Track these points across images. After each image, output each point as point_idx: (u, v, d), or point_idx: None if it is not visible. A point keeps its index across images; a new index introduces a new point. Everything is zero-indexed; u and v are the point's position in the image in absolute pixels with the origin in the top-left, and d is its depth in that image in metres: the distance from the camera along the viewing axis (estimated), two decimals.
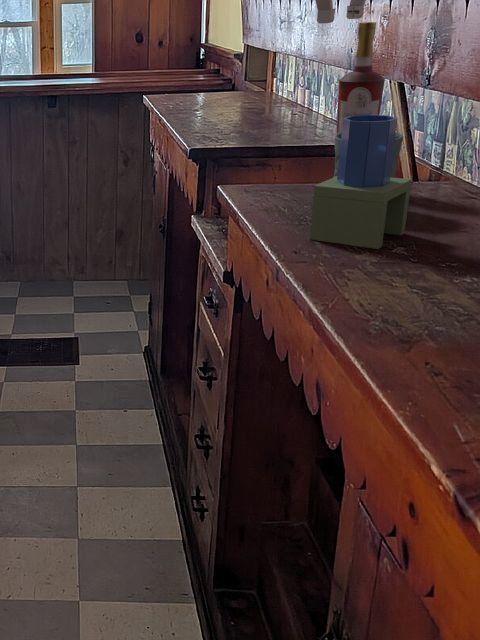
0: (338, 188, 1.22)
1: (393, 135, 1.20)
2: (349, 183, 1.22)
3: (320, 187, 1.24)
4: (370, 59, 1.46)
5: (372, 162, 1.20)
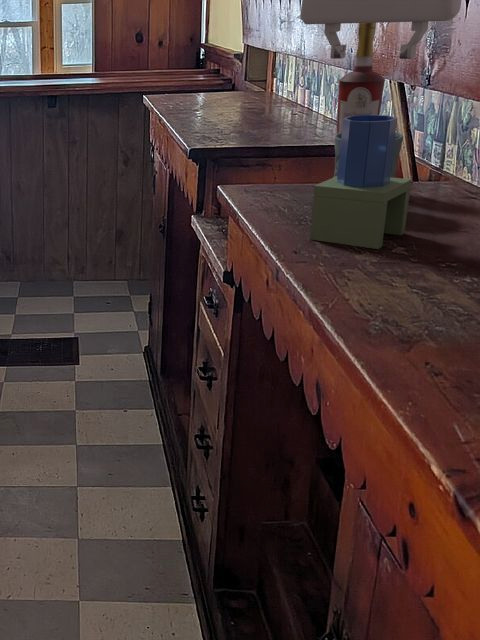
0: (338, 188, 1.22)
1: (393, 135, 1.20)
2: (349, 183, 1.22)
3: (320, 187, 1.24)
4: (370, 59, 1.46)
5: (372, 162, 1.20)
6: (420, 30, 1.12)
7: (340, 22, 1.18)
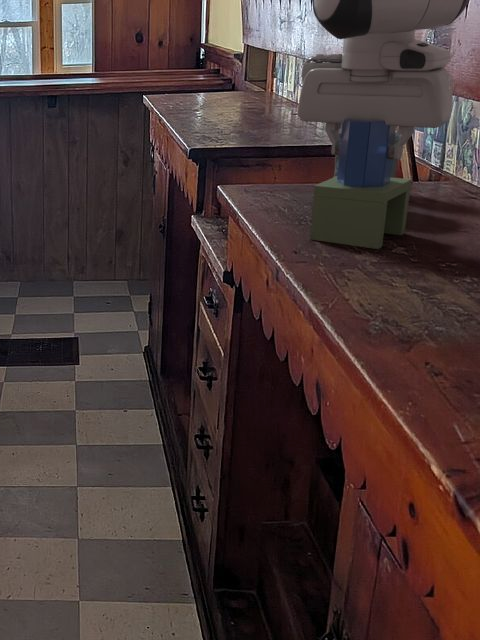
0: (338, 188, 1.22)
1: (393, 135, 1.20)
2: (349, 183, 1.22)
3: (320, 187, 1.24)
4: None
5: (372, 162, 1.20)
6: (406, 134, 1.17)
7: (336, 122, 1.23)
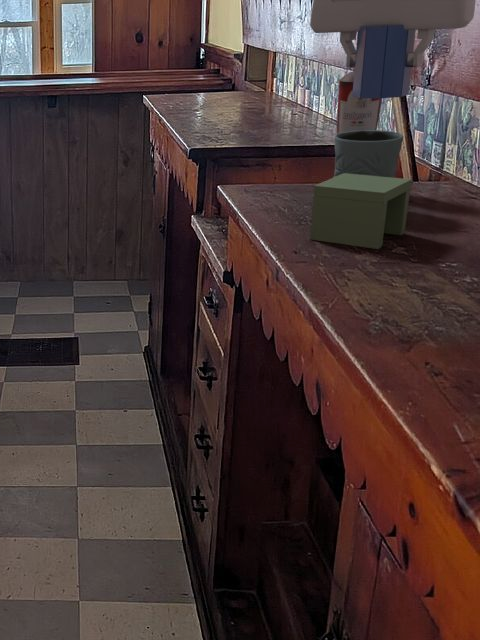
0: (338, 188, 1.22)
1: (412, 41, 1.13)
2: (365, 95, 1.16)
3: (320, 187, 1.24)
4: None
5: (390, 70, 1.13)
6: (426, 38, 1.10)
7: (351, 30, 1.16)
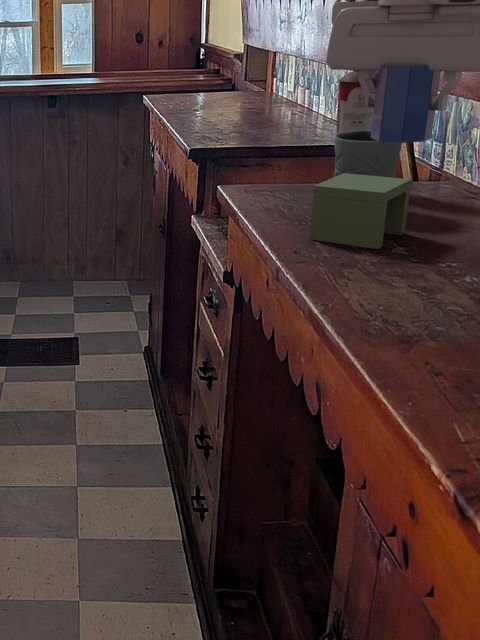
0: (338, 188, 1.22)
1: (437, 82, 1.05)
2: (385, 138, 1.08)
3: (320, 187, 1.24)
4: None
5: (413, 113, 1.05)
6: (453, 80, 1.02)
7: (370, 69, 1.08)
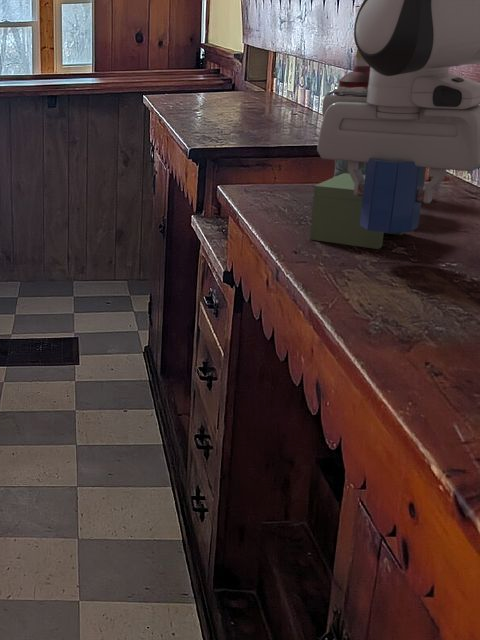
0: (338, 188, 1.22)
1: (423, 176, 1.09)
2: (374, 228, 1.12)
3: (320, 187, 1.24)
4: None
5: (399, 206, 1.09)
6: (438, 177, 1.07)
7: (359, 161, 1.12)
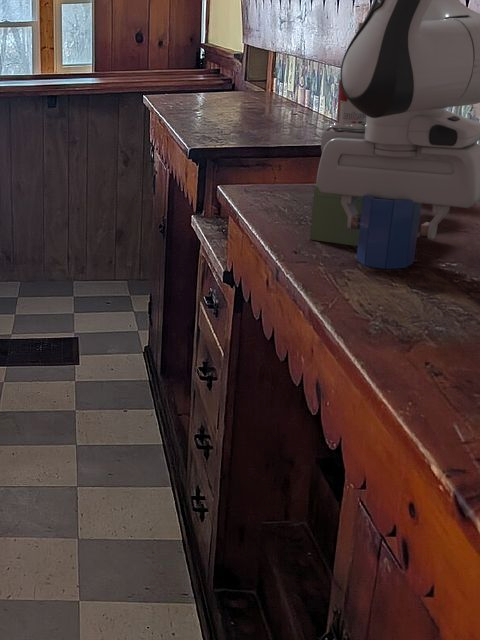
0: None
1: (418, 214, 1.11)
2: (370, 264, 1.14)
3: None
4: None
5: (395, 243, 1.11)
6: (441, 213, 1.08)
7: (358, 195, 1.14)
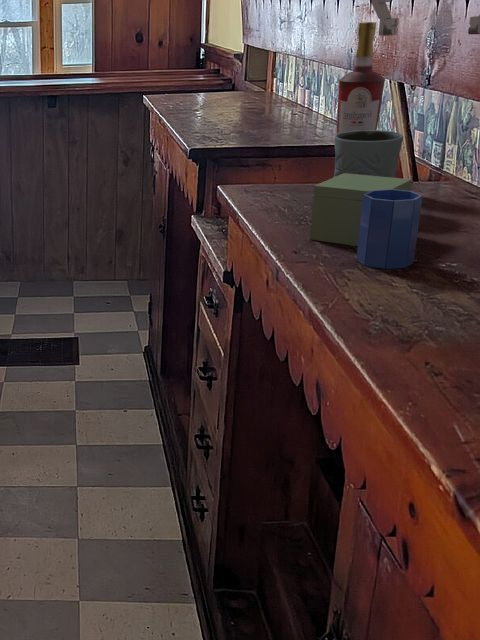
0: (338, 188, 1.22)
1: (418, 214, 1.11)
2: (370, 264, 1.14)
3: (320, 187, 1.24)
4: (370, 59, 1.46)
5: (395, 243, 1.11)
6: None
7: None
